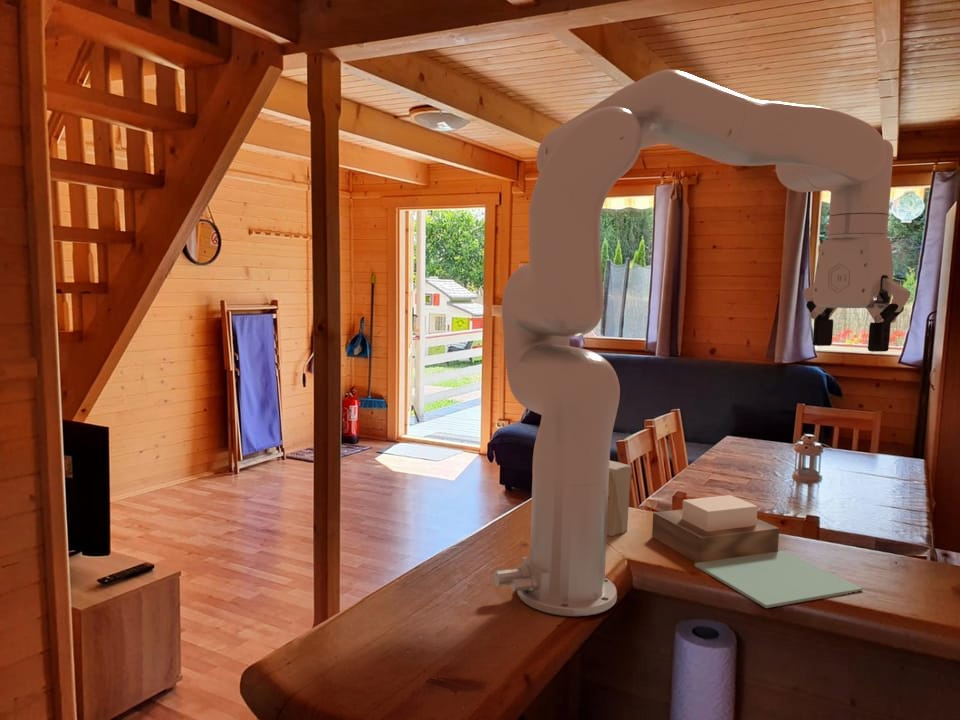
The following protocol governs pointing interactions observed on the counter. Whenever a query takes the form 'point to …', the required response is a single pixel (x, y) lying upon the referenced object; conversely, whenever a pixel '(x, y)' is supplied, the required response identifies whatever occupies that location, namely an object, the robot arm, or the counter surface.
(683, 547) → the plate
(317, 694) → the counter surface
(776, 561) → the mat
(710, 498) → the beige rectangular block
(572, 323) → the robot arm
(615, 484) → the box
